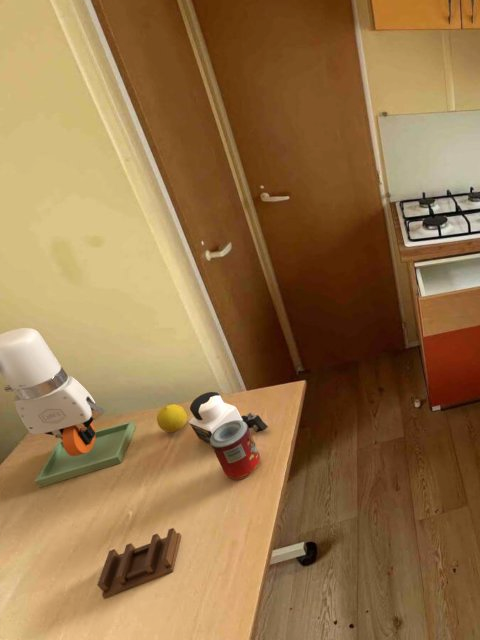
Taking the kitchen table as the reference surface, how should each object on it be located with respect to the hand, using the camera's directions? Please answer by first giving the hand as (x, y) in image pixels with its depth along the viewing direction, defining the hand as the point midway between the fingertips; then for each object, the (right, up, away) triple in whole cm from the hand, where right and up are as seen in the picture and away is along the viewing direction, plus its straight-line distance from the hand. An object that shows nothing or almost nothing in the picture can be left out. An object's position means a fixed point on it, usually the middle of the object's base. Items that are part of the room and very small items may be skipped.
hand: (82, 441), depth 97 cm
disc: (0, +1, -1) cm, 2 cm away
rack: (+31, -15, -19) cm, 39 cm away
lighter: (+34, -1, +8) cm, 35 cm away
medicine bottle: (+27, -1, +7) cm, 28 cm away
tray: (0, -4, +2) cm, 5 cm away
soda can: (+38, -6, -1) cm, 38 cm away
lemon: (+15, -1, +8) cm, 18 cm away
